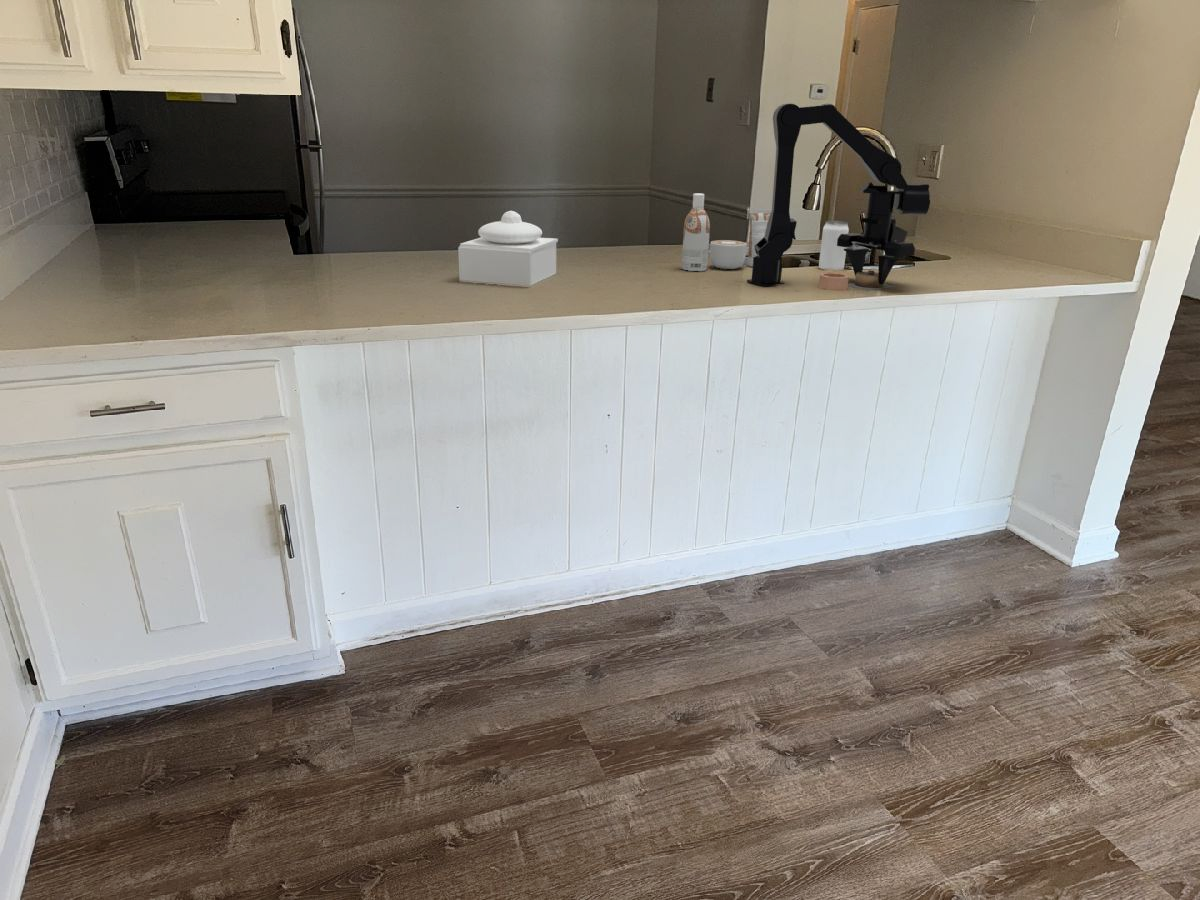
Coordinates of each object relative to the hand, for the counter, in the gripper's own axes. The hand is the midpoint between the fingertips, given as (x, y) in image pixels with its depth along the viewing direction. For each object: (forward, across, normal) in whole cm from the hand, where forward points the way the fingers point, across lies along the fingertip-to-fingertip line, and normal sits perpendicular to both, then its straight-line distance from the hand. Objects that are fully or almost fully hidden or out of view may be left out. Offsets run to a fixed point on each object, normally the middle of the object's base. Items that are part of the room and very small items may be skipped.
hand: (869, 281), depth 201 cm
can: (+1, +22, -10) cm, 24 cm away
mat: (+1, 0, 0) cm, 1 cm away
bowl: (+1, +2, +10) cm, 10 cm away
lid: (+1, 0, 0) cm, 1 cm away
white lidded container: (+2, +46, +72) cm, 85 cm away
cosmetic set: (+2, +35, +15) cm, 38 cm away
